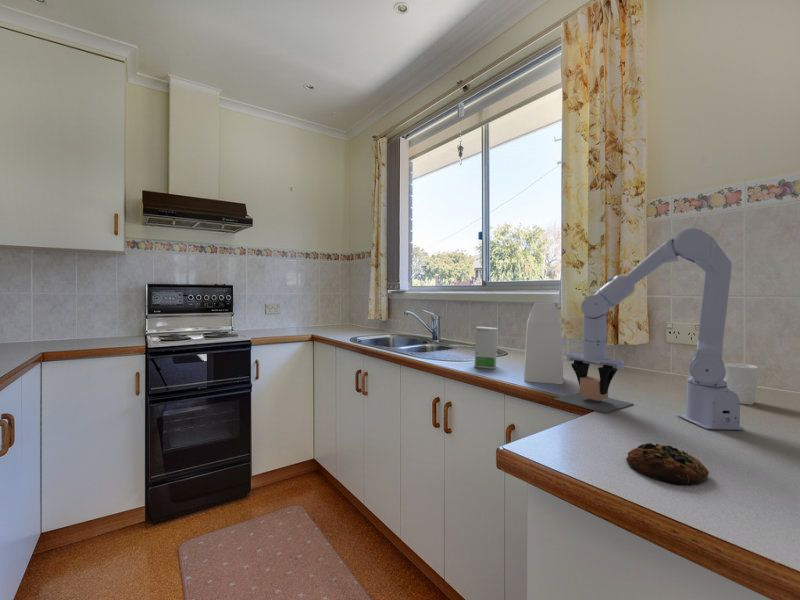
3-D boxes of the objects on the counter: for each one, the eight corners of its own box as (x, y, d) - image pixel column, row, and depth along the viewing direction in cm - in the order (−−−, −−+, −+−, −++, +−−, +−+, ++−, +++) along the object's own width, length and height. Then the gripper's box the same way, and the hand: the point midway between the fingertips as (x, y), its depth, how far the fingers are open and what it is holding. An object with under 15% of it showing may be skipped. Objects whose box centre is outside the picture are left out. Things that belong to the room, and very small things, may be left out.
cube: (607, 398, 101) (608, 379, 101) (598, 400, 98) (598, 381, 98) (589, 393, 105) (590, 375, 105) (579, 396, 103) (580, 377, 102)
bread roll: (644, 483, 58) (644, 449, 59) (615, 461, 69) (615, 433, 69) (726, 493, 56) (725, 458, 57) (683, 469, 67) (683, 440, 68)
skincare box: (474, 367, 148) (474, 327, 147) (475, 364, 154) (476, 326, 154) (496, 369, 145) (497, 328, 145) (497, 366, 151) (497, 327, 151)
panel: (633, 404, 100) (633, 403, 100) (605, 413, 92) (605, 412, 92) (582, 392, 112) (582, 391, 111) (554, 399, 104) (554, 398, 104)
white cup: (746, 398, 108) (747, 363, 107) (764, 406, 100) (765, 368, 100) (713, 396, 110) (714, 361, 110) (728, 403, 102) (729, 366, 102)
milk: (524, 381, 126) (525, 302, 125) (523, 374, 137) (525, 302, 136) (563, 384, 122) (565, 303, 122) (559, 376, 133) (561, 302, 133)
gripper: (630, 343, 98) (629, 395, 98) (577, 337, 110) (576, 384, 110) (616, 344, 94) (615, 399, 94) (562, 338, 106) (561, 387, 106)
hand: (593, 391), depth 102 cm, fingers closed on cube, 5 cm apart
